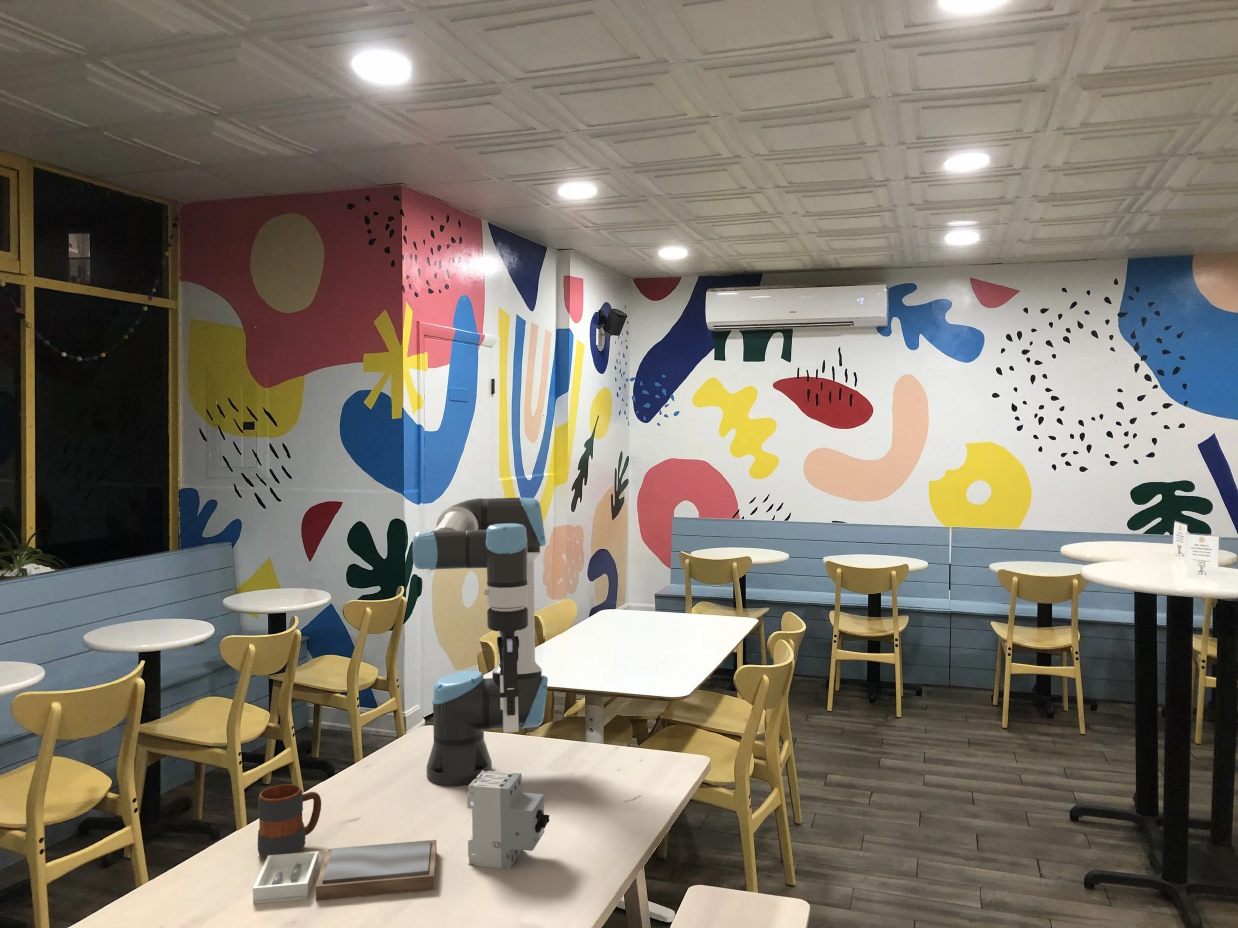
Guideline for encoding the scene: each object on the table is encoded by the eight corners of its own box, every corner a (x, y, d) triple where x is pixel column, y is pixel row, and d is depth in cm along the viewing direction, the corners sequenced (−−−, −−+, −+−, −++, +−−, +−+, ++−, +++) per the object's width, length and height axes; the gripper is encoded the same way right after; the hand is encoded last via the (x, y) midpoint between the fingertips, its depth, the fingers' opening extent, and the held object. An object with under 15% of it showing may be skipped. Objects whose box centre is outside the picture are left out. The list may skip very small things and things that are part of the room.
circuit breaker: (541, 871, 165) (540, 791, 164) (468, 864, 168) (467, 785, 167) (553, 852, 172) (552, 775, 171) (482, 846, 175) (481, 770, 174)
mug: (328, 848, 175) (327, 789, 174) (264, 866, 168) (262, 804, 167) (315, 832, 182) (314, 775, 181) (253, 848, 175) (251, 789, 174)
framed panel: (328, 861, 169) (327, 846, 169) (436, 852, 173) (436, 837, 172) (315, 900, 155) (315, 883, 155) (433, 889, 159) (433, 872, 159)
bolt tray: (268, 869, 166) (268, 855, 166) (319, 865, 168) (318, 850, 168) (253, 903, 155) (252, 888, 155) (307, 898, 156) (307, 883, 156)
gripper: (485, 595, 179) (487, 700, 180) (488, 621, 155) (490, 743, 156) (523, 594, 181) (525, 698, 181) (532, 620, 156) (534, 740, 157)
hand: (509, 719), depth 169 cm, fingers open, 13 cm apart
